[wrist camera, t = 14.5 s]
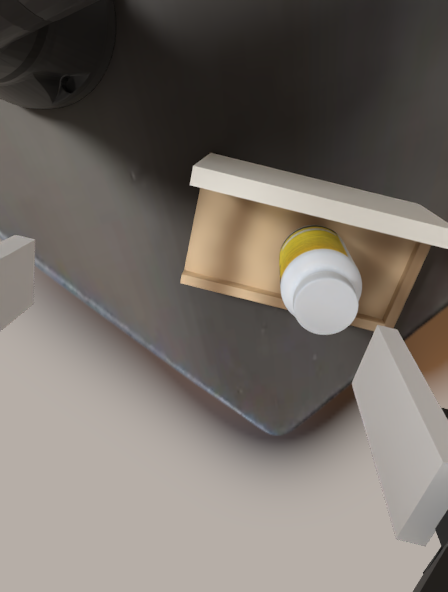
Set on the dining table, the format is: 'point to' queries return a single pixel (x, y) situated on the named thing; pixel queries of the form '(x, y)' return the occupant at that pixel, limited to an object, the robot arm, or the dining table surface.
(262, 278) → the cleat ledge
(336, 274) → the pill bottle
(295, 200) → the wall board
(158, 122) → the dining table surface
